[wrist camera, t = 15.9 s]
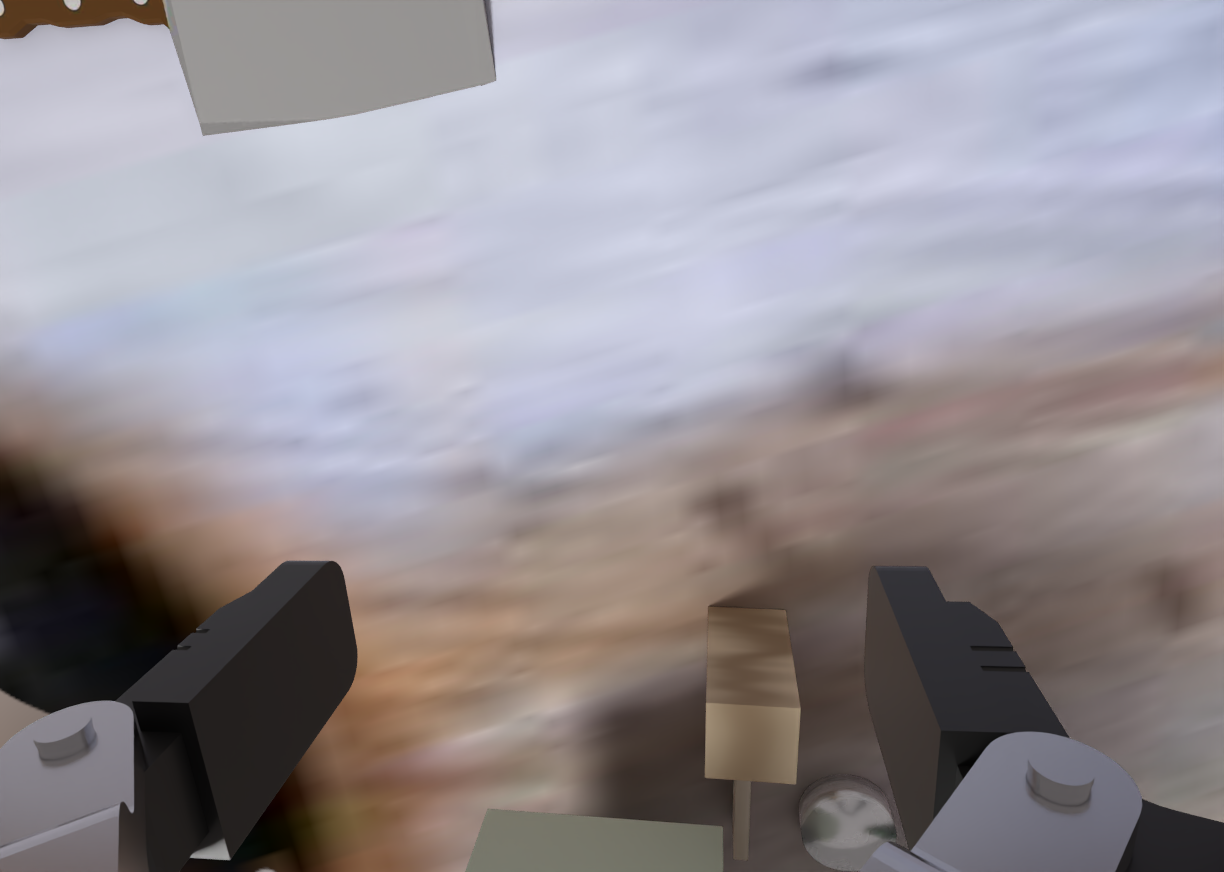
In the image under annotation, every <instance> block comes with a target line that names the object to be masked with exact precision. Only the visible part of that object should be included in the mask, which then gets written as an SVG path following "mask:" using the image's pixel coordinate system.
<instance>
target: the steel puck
mask: <svg viewBox="0 0 1224 872" xmlns="http://www.w3.org/2000/svg"><path fill="white" fill-rule="evenodd" d="M799 818H800V826H801V834H802V840H803V843H804V846H805V848H806V850H807V851H808V853H809V854H810V855H811V856H812V857H813V858H814V859H815V860H816V861H818V862H819V863H821V864H823V865H825V866H827V867H829V868H832V869H836V870H841V871H860V870H861V868H862V867H863V866H864V865H865V863H866V862H867V861H868V859H869V858H870V857H871V856H872V854H873V853H874V852H875V851H876V850H877V849H878V848H879V847H880V846H881V845H882V844H884V843H886V842H889V841H892V842H895V843H896V829H895V825H894V822H893V818H892V814H891V811H890V807H889V803H888V800H887V798H886V796H885V795H884V793H883V792H882V791H881V789H880V788H879V787H877V786H876V785H875V784H874V783H872V782H870V781H868V780H866V779H864V778H861V777H858V776H854V775H846V774H840V775H832V776H827V777H824V778H822V779H819V780H817V781H816V782H814V783H813V784H811V785H810V786H809V787H808V788H807V789H806V790H805V791H804V793H803V795H802V796H801V799H800V801H799Z"/></svg>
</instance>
